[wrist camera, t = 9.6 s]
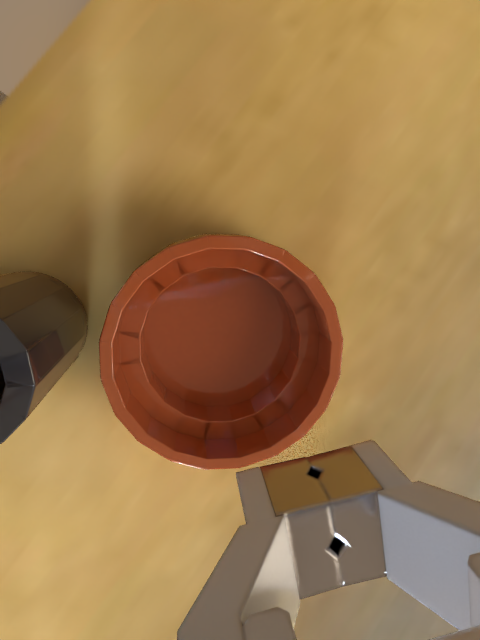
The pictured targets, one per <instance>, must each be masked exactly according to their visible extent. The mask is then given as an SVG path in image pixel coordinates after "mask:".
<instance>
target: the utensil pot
mask: <svg viewBox="0 0 480 640" xmlns="http://www.w3.org/2000/svg"><path fill="white" fill-rule="evenodd" d="M87 330H88V325H87V317H86V313H85V310H84V307H83V305H82V304H81V302H80V300H79V299H78V297H77V296H76V294H75V293H74V292H73V291H72V290H71V289H70V288H69V287H68V286H67V285H65V284H64V283H62V282H61V281H60V280H58V279H56V278H54V277H52V276H49V275H46V274H43V273H39V272H31V271H23V272H13V273H8V274H5V275H1V276H0V365H1V369H2V373H3V377H4V381H5V386H4V390H3V393H2V397H1V399H0V444H2V443H3V442H4V441H5V440H6V439H7V438H8V437H9V436H10V435H11V434H12V433H13V432H14V431H15V430H16V429H17V428H18V427H19V426H20V425H21V424H22V423H23V422H24V421H25V420H26V419H27V417H28V416H29V415H30V414H31V413H32V411H33V410H34V409H35V408H36V407H37V405H38V404H39V403H40V402H41V401H42V399H43V398H44V397H45V396H46V395H47V393H48V392H49V391H50V390H51V389H52V387H53V386H54V385H55V384H56V383H57V381H58V380H59V379H60V378H61V377H62V375H63V374H64V373H65V372H66V371H67V369H68V368H69V367H70V366H71V365H72V363H73V362H74V361H75V360H76V359H77V357H78V355H79V353H80V352H81V350H82V348H83V347H84V344H85V341H86V337H87Z"/></svg>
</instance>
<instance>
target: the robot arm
mask: <svg viewBox="0 0 480 640" xmlns="http://www.w3.org/2000/svg"><path fill="white" fill-rule="evenodd" d="M236 478H237V483H238V487H239V492H240V497H241V502H242V507H243V511H244V516H245V521H246V525H242V526H239V527H238V529H237V531H236V533H235V534H234V536H233V538H232V539H231V541H230V543H229V544H228V546H227V548H226V549H225V551H224V553H223V555H222V556H221V558H220V560H219V561H218V563H217V565H216V566H215V568H214V570H213V572H212V573H211V575H210V577H209V578H208V580H207V582H206V583H205V585H204V587H203V589H202V590H201V592H200V594H199V595H198V597H197V599H196V600H195V602H194V604H193V605H192V607H191V609H190V611H189V612H188V614H187V616H186V617H185V619H184V621H183V622H182V624H181V626H180V628H179V629H178V631H177V640H297V639H296V635H295V632H294V626H295V622H296V618H297V614H298V610H299V606H300V599H303V598H307V597H310V596H313V595H317V594H320V593H323V592H326V591H330V590H333V589H336V588H339V587H343V586H347V585H351V584H356V583H360V582H364V581H368V580H372V579H377V578H381V577H385V576H387V579H389V580H390V581H392V582H393V583H394V584H396V585H397V586H398V587H400V588H401V589H403V590H404V591H405V592H407V593H408V594H410V595H411V596H412V597H414V598H415V599H417V600H418V601H419V602H421V603H422V604H424V605H425V606H426V607H428V608H429V609H431V610H432V611H433V612H435V613H436V614H437V615H439V616H440V617H442V618H443V619H444V620H446V621H447V622H449V623H450V624H451V625H453V626H454V627H456V628H457V629H458V630H460V631H457V632H453V633H450V634H446V635H443V636H439V637H436V638H432V639H429V640H480V502H478V501H475V500H472V499H469V498H466V497H463V496H460V495H458V494H455V493H452V492H449V491H446V490H443V489H441V488H438V487H435V486H432V485H429V484H426V483H424V482H421V481H417V482H411V481H410V480H409V479H408V478H407V476H406V475H405V474H404V473H403V472H402V471H401V470H400V469H399V468H398V467H397V465H396V464H395V463H394V462H393V461H392V460H391V459H390V458H389V457H388V455H387V454H386V453H385V452H384V451H383V450H382V449H381V448H380V447H379V446H378V444H377V443H376V442H375V441H373V440H368V441H364V442H361V443H357V444H354V445H350V446H348V447H344V448H340V449H336V450H332V451H329V452H325V453H321V454H317V455H314V456H310V457H303V458H298V459H294V460H289V461H284V462H280V463H275V464H271V465H266V466H261V467H260V468H259V467H256V468H252V469H248V470H244V471H240V472H236Z"/></svg>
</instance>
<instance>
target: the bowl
mask: <svg viewBox="0 0 480 640" xmlns="http://www.w3.org/2000/svg"><path fill="white" fill-rule="evenodd" d="M342 349H343V337H342V332H341V328H340V324H339V320H338V316H337V311H336V307H335V305H334V303H333V301H332V300H331V298H330V296H329V295H328V293H327V292H326V290H325V288H324V287H323V285H322V284H321V282H320V281H319V279H318V277H317V276H316V275H315V274H314V272H312V271H311V270H310V269H309V268H307V267H306V266H305V265H304V264H303V263H301V262H300V261H299V260H298V259H296V258H295V257H294V256H293V255H291V254H290V253H289V252H288V251H286V250H285V249H282V248H279V247H277V246H274V245H271V244H269V243H266V242H263V241H260V240H258V239H255V238H252V237H249V236H243V235H237V234H201V235H197V236H194V237H191V238H187V239H184V240H181V241H177V242H174V243H172V244H169V245H168V246H167V247H165V248H164V249H162V250H161V251H160V252H158V253H157V254H155V255H154V256H153V257H151V258H150V259H148V260H147V261H145V262H144V263H143V264H142V265H141V266H139V267H138V268H137V269H136V270H135V271H134V272H133V273H132V274H131V276H130V277H129V278H128V280H127V281H126V283H125V284H124V285H123V287H122V288H121V289H120V291H119V292H118V294H117V295H116V296H115V298H114V299H113V300H112V302H111V304H110V306H109V309H108V313H107V316H106V319H105V323H104V326H103V329H102V332H101V336H100V339H99V356H100V378H101V382H102V384H103V387H104V389H105V392H106V394H107V397H108V399H109V402H110V404H111V407H112V409H113V412H114V413H115V415H116V417H117V418H118V419H119V420H120V421H121V422H122V424H123V425H124V426H125V427H126V428H127V429H128V431H129V432H130V433H131V434H132V435H133V436H134V437H135V439H136V440H137V441H138V442H140V443H141V444H143V445H145V446H146V447H148V448H150V449H151V450H153V451H155V452H156V453H158V454H160V455H161V456H163V457H164V458H166V459H168V460H170V461H173V462H177V463H181V464H185V465H189V466H193V467H197V468H201V469H205V470H207V469H230V468H241V467H245V466H248V465H251V464H254V463H257V462H260V461H262V460H265V459H268V458H271V457H274V456H276V455H278V454H279V453H281V452H282V451H283V450H285V449H286V448H288V447H289V446H291V445H292V444H294V443H295V442H297V441H298V440H299V439H301V438H302V437H304V436H305V435H306V434H307V432H308V431H309V430H310V429H311V427H312V426H313V425H314V424H315V423H316V421H317V420H318V419H319V418H320V416H321V415H322V414H323V413H324V412H325V410H326V408H327V407H328V405H329V402H330V400H331V397H332V395H333V392H334V390H335V388H336V385H337V383H338V380H339V378H340V373H341V361H342Z"/></svg>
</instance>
